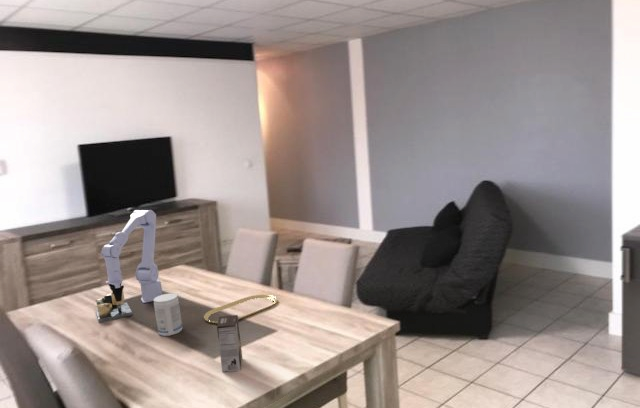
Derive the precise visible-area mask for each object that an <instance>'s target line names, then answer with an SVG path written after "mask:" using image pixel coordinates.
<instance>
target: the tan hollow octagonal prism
mask: <svg viewBox="0 0 640 408" xmlns="http://www.w3.org/2000/svg"><path fill="white" fill-rule="evenodd" d="M110 293H111V296H112V303H113V305H120V304H123V303H126V301H125V294H124V290H123V291H122V300H121V301H119V302H117V301H116V299H115V296H114V293H113V292H110Z"/></svg>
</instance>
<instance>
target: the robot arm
mask: <svg viewBox="0 0 640 408" xmlns="http://www.w3.org/2000/svg"><path fill="white" fill-rule="evenodd" d="M138 226H139V227H141V228H142V229H143V241H142V253H141V262H140V263H139V264H138V265H137V268H136V271H135V279H136V280H137V281H138V283H139V284H140V289H141V290H140V291H141V298H140V300H141V302H142V303H143V304H145V303H150V302H154V298H156V297H158V296H160V295H164V293H163V287H162V283H161V280H160V279H158V278H159V270H158V265H157V264H156V263H155V262H154V260H155V259H154V258H155V247H156V245H155V244H156V231H157V230H156V229H157V213H155V212H154V210H152V209H141V210H140V209H135V210H133V212H132V213H131V214H130V219H129V220H128V221H127V222H126V224H125V225H124V228H122V230H121V231H117V232H115V234H114V236H113V238H112V239H111V240H110V241H109V242H108V243H107V244H105V245H103V246H102V248H101V252H100V254H101V257H103V260H104V261H105V267H106V274H107V279H108V280H106V281H105V284H108V287H109V289H110V290H111V293H114V296H115V299H116V301H117V302H119V301H121V300H122V291H123V292H124V288H125V286H124V285H122V282H123V277H122V276H123V275H122V271H121V270H122V269H121V263H120V257H119V256H121V254H122V250H123V247H124V245H126V243H127V242H128V241H129V235H130V234H131V233H132V232H133V231H134V230H135V229H136V228H137V227H138Z"/></svg>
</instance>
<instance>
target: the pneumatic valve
mask: <svg viewBox="0 0 640 408" xmlns="http://www.w3.org/2000/svg"><path fill="white" fill-rule="evenodd" d="M111 293H112V292H110V293H109V294H106V295H104V296H103V297H102V298H98V299H96V300H95V302H96V307H97V306H98V305H100V304H103V303H112V296H111ZM112 306H116V305H113V303H112Z"/></svg>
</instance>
